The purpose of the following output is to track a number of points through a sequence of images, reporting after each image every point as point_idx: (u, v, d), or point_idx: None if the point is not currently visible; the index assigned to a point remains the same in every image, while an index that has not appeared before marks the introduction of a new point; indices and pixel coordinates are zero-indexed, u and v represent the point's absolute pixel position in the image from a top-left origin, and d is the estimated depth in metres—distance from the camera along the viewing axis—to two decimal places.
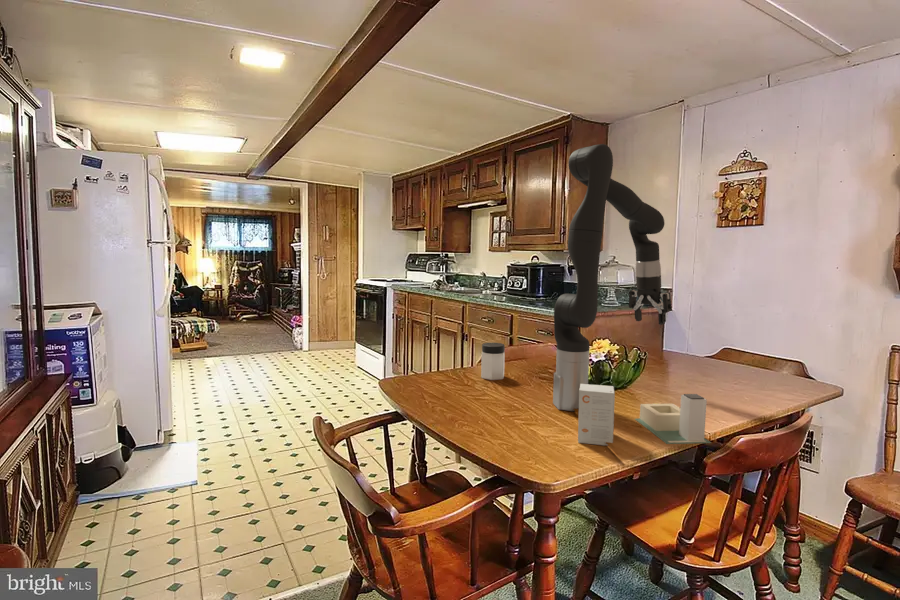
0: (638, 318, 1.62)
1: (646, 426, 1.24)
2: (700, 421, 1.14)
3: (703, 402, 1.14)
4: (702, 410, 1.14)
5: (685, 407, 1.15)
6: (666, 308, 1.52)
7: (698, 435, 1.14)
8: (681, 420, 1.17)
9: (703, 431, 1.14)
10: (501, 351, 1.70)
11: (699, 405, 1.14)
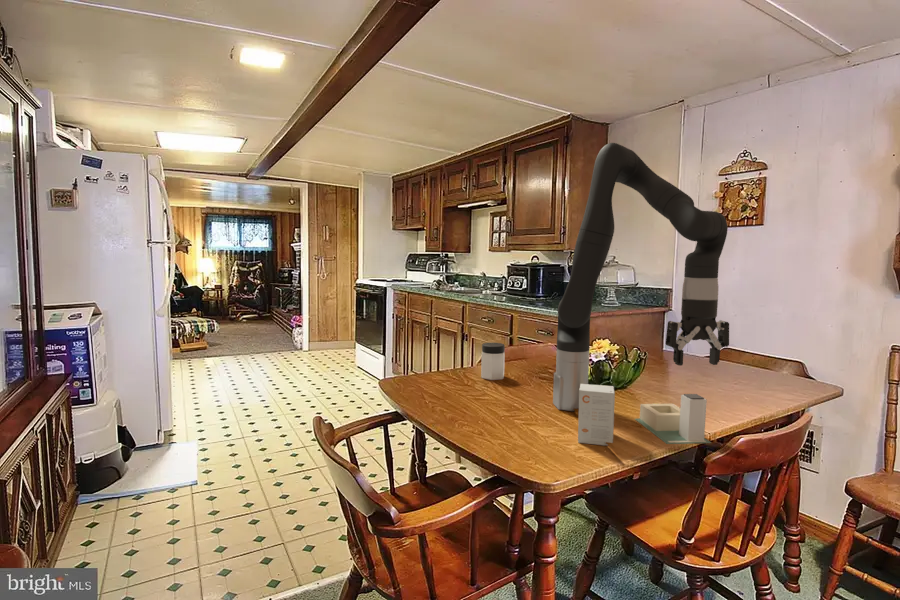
0: (710, 359, 1.15)
1: (646, 426, 1.24)
2: (700, 421, 1.14)
3: (703, 402, 1.14)
4: (702, 410, 1.14)
5: (685, 407, 1.15)
6: None
7: (698, 435, 1.14)
8: (681, 420, 1.17)
9: (703, 431, 1.14)
10: (501, 351, 1.71)
11: (699, 405, 1.14)
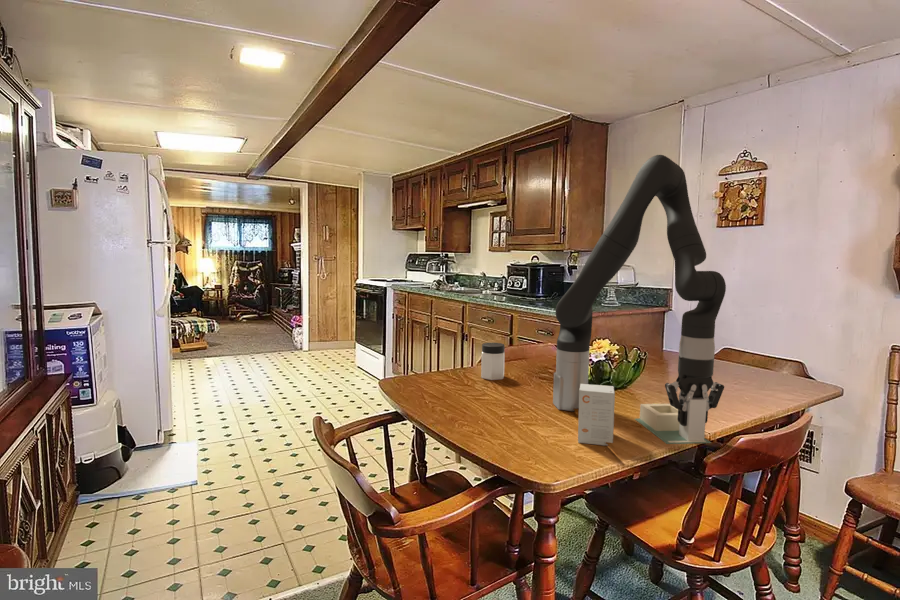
0: None
1: (646, 426, 1.24)
2: (700, 421, 1.14)
3: (703, 402, 1.14)
4: (702, 410, 1.14)
5: None
6: None
7: (698, 435, 1.14)
8: None
9: (703, 431, 1.14)
10: (501, 351, 1.70)
11: (699, 405, 1.14)
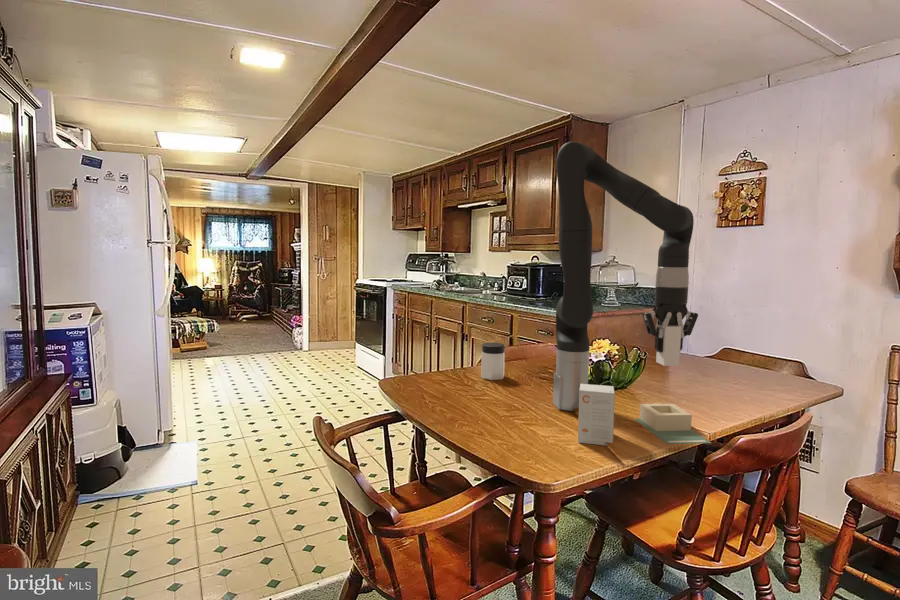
0: None
1: (646, 426, 1.24)
2: (675, 347, 1.21)
3: (678, 329, 1.21)
4: (677, 336, 1.21)
5: None
6: None
7: (674, 361, 1.22)
8: None
9: (678, 357, 1.22)
10: (501, 351, 1.70)
11: (674, 332, 1.21)
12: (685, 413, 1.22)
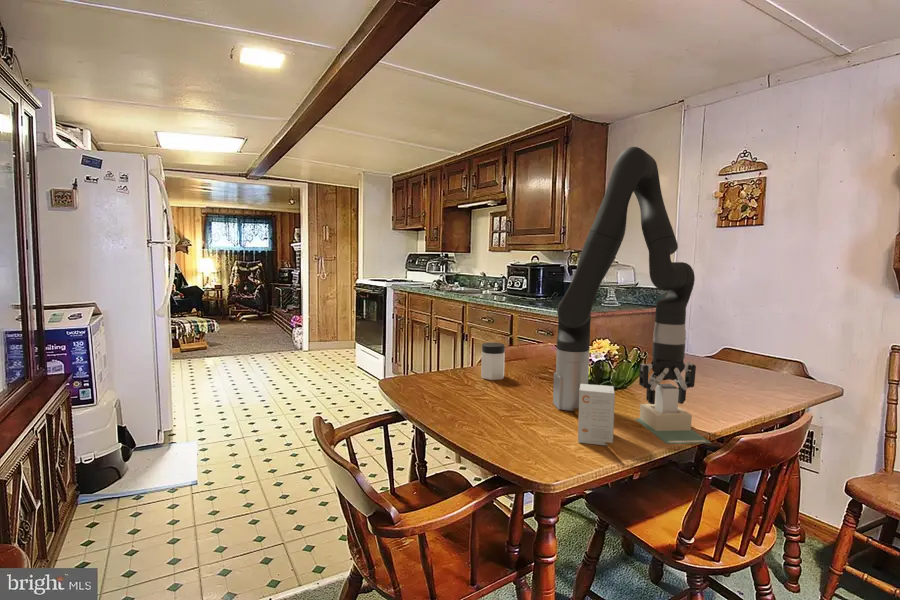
0: None
1: (646, 426, 1.24)
2: (673, 408, 1.23)
3: (675, 391, 1.22)
4: (675, 398, 1.23)
5: (659, 396, 1.24)
6: None
7: None
8: (656, 408, 1.26)
9: None
10: (501, 351, 1.70)
11: (672, 394, 1.22)
12: (685, 413, 1.22)
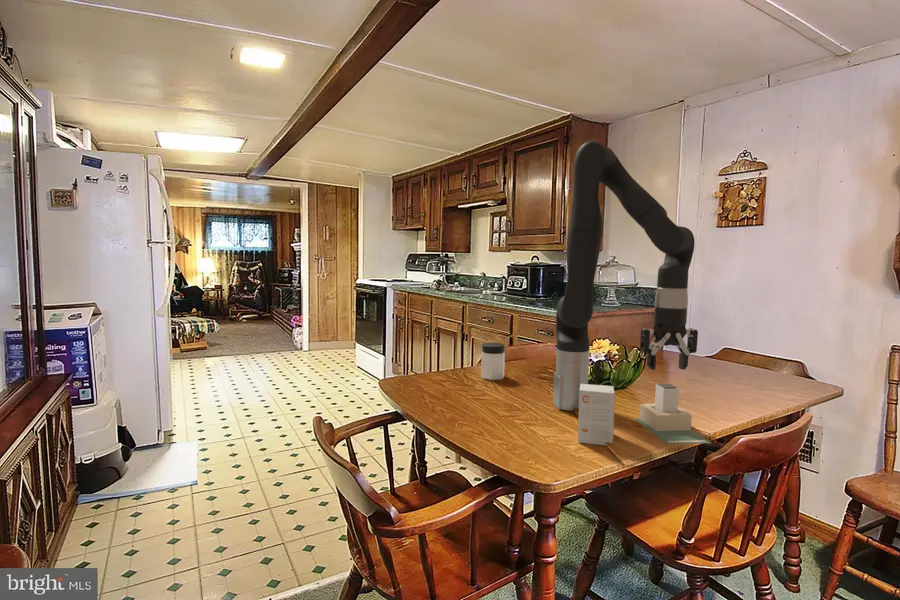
0: (679, 364, 1.24)
1: (646, 426, 1.24)
2: (673, 408, 1.23)
3: (675, 391, 1.22)
4: (675, 398, 1.23)
5: (659, 396, 1.24)
6: None
7: None
8: (656, 408, 1.26)
9: None
10: (501, 351, 1.70)
11: (672, 394, 1.22)
12: (685, 413, 1.22)
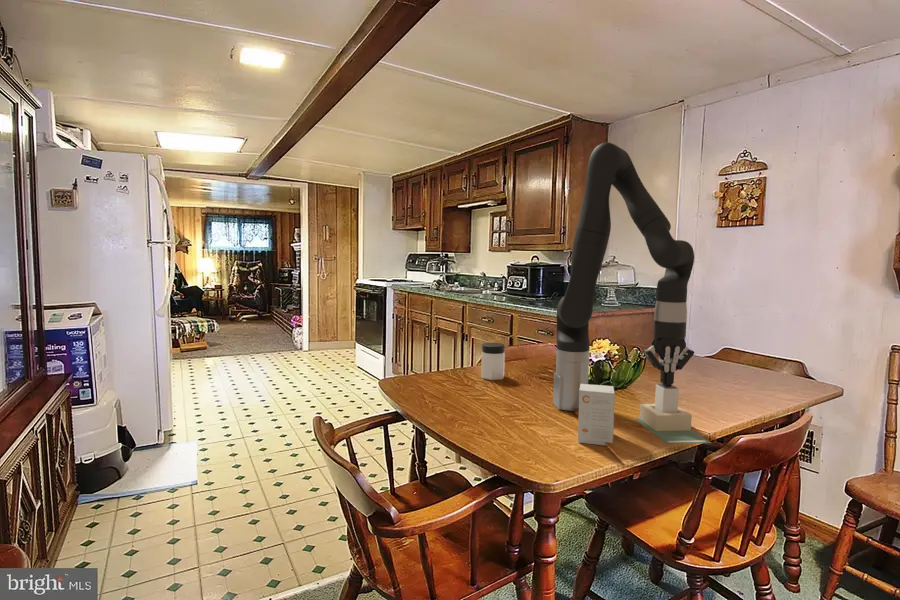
0: None
1: (646, 426, 1.24)
2: (673, 408, 1.23)
3: (675, 391, 1.22)
4: (675, 398, 1.23)
5: (659, 396, 1.24)
6: None
7: None
8: (656, 408, 1.26)
9: None
10: (501, 351, 1.70)
11: (672, 394, 1.22)
12: (685, 413, 1.22)
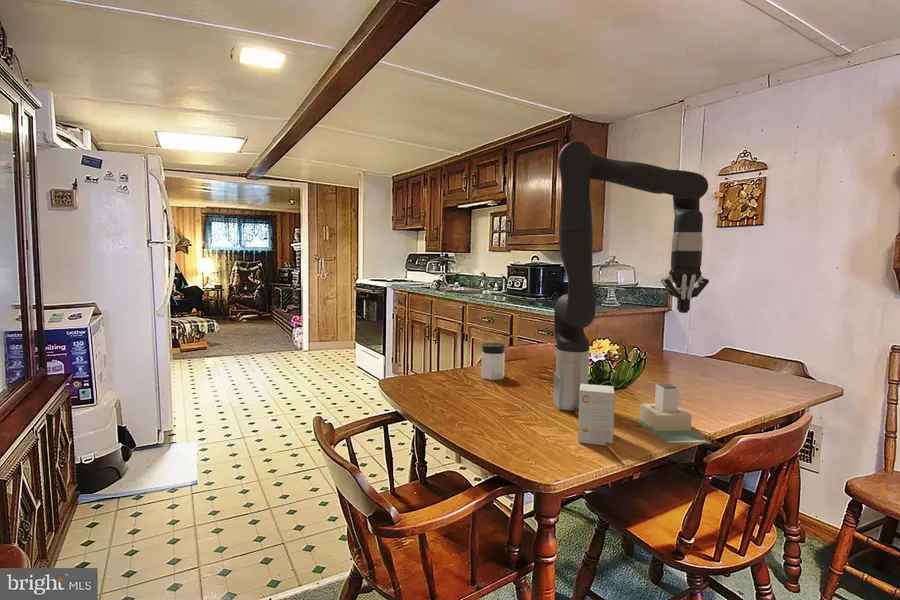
0: None
1: (646, 426, 1.24)
2: (673, 408, 1.23)
3: (675, 391, 1.22)
4: (675, 398, 1.23)
5: (659, 396, 1.24)
6: None
7: None
8: (656, 408, 1.26)
9: None
10: (501, 351, 1.70)
11: (672, 394, 1.22)
12: (685, 413, 1.22)
